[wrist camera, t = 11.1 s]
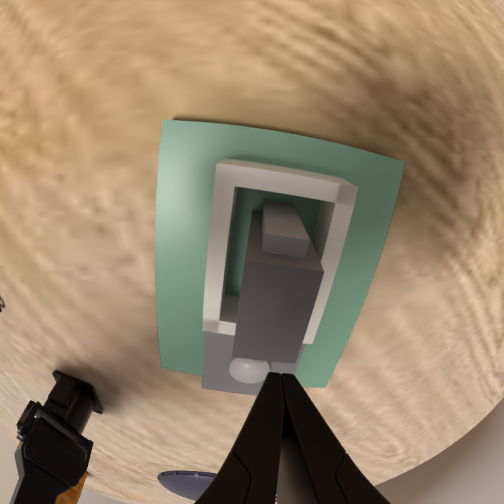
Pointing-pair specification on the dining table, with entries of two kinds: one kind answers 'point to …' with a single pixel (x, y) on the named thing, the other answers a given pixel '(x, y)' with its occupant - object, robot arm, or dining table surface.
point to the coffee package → (72, 493)
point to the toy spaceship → (187, 482)
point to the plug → (276, 286)
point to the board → (236, 236)
